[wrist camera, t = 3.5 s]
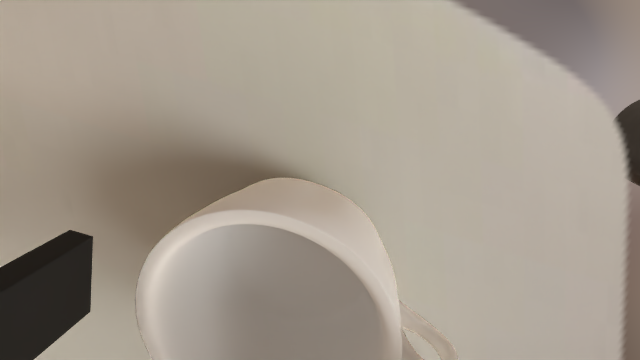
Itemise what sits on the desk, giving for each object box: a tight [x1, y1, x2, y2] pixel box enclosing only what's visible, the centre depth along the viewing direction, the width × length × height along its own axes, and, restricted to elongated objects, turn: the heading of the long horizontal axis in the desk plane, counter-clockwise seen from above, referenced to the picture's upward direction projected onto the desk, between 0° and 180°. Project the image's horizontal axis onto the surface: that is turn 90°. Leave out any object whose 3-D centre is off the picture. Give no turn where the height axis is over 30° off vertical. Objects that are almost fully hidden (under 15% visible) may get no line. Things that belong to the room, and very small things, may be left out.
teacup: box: [135, 178, 458, 360], centre depth 14 cm, size 10×8×5 cm
